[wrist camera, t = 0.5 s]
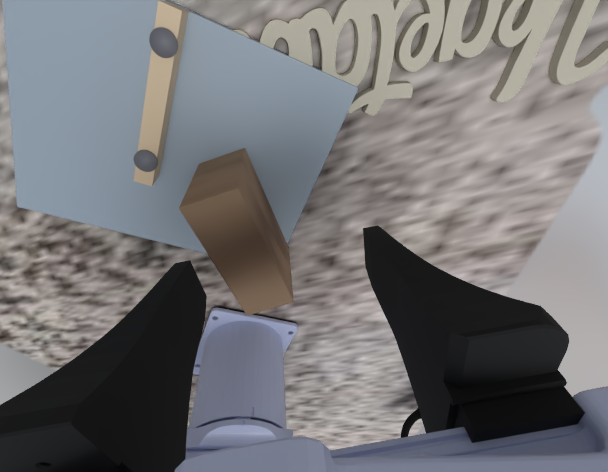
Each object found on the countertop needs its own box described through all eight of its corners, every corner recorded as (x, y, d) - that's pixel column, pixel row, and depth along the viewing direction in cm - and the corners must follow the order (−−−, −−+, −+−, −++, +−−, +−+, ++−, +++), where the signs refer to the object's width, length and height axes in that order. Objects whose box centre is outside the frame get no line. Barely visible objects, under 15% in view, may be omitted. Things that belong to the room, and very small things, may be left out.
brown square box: (288, 247, 24) (293, 302, 19) (249, 260, 24) (244, 316, 20) (244, 147, 19) (238, 188, 15) (196, 164, 20) (175, 209, 15)
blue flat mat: (274, 262, 26) (275, 285, 24) (27, 198, 21) (-2, 220, 19) (354, 85, 19) (366, 94, 17) (12, -71, 14) (-36, -87, 12)
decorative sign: (688, -178, 14) (611, 75, 19) (665, -168, 15) (597, 73, 20) (102, -15, 15) (191, 179, 21) (111, -13, 16) (194, 172, 21)
